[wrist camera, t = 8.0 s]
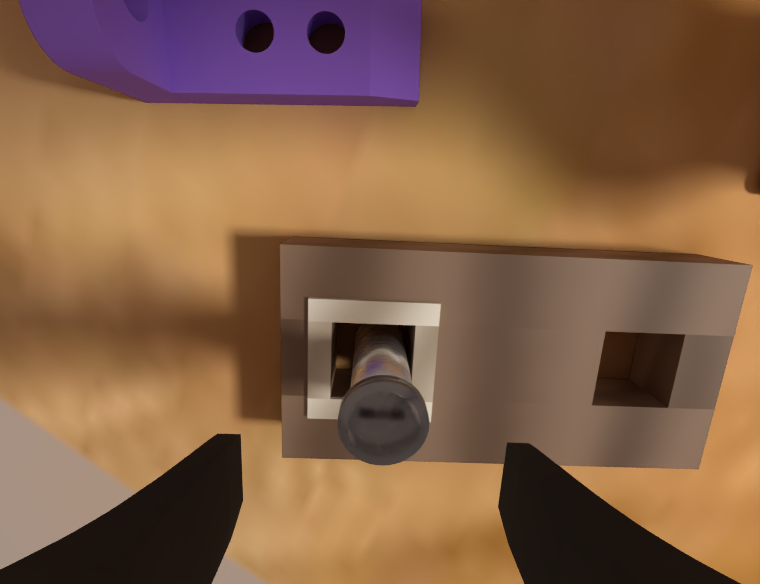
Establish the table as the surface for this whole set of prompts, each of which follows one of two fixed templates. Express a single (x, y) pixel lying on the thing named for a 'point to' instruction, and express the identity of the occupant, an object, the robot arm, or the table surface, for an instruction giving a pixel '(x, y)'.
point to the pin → (382, 400)
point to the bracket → (235, 49)
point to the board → (515, 346)
